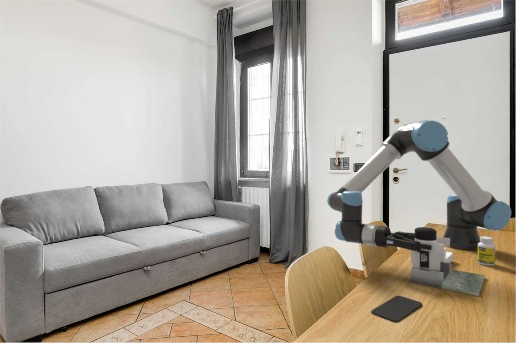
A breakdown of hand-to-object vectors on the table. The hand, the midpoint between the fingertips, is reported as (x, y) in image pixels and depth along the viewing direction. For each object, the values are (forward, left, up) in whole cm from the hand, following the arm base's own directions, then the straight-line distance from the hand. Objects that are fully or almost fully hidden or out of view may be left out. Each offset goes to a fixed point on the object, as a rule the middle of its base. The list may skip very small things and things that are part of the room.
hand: (446, 245), depth 108 cm
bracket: (-17, -6, -12) cm, 21 cm away
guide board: (0, 0, -11) cm, 11 cm away
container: (0, -6, -8) cm, 10 cm away
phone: (+31, -6, -12) cm, 34 cm away
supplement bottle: (-27, +9, -11) cm, 31 cm away
